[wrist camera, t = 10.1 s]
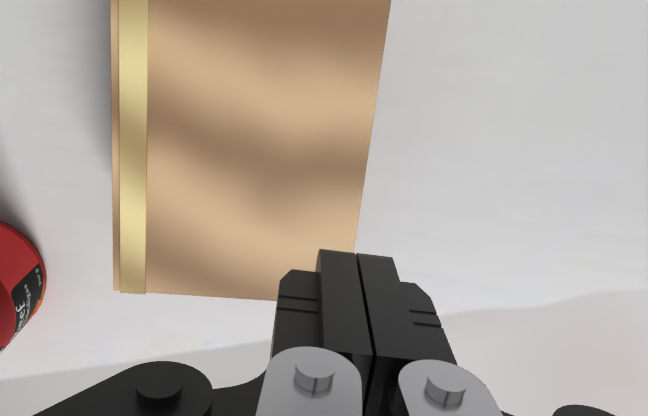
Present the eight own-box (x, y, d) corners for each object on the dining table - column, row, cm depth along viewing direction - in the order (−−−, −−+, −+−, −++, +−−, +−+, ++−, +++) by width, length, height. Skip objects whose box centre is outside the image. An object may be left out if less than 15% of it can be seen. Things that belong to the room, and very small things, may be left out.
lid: (115, -67, 24) (108, -69, 23) (392, -29, 25) (396, -31, 24) (117, 282, 29) (112, 292, 28) (343, 298, 31) (346, 307, 30)
